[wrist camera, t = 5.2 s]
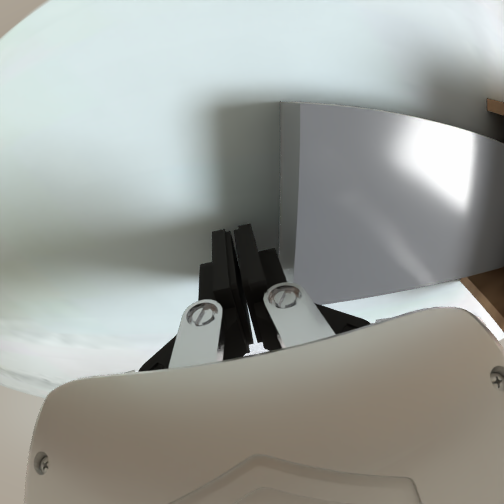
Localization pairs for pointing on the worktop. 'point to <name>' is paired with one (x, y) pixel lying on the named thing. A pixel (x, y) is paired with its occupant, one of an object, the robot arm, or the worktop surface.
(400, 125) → the board
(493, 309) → the open wooden box
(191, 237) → the worktop surface
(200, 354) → the robot arm
